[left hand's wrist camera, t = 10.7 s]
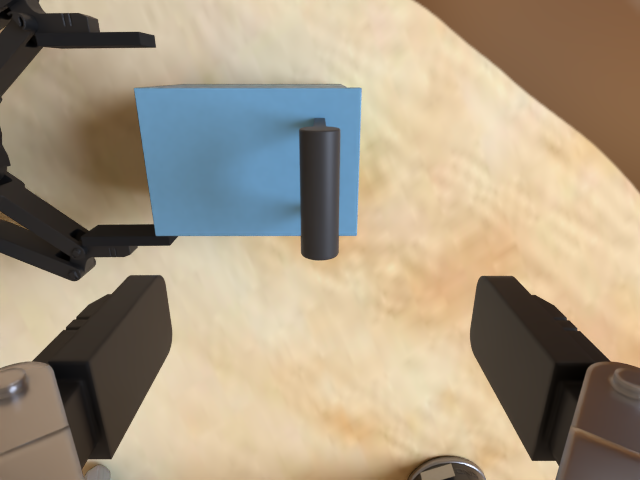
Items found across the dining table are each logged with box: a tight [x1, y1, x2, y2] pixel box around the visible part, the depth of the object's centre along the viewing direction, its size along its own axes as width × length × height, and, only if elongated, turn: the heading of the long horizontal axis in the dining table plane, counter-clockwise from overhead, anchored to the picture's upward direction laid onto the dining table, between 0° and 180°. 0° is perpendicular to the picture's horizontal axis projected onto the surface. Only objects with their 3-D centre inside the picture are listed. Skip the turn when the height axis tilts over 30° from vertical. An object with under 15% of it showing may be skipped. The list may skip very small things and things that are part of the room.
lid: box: [134, 88, 362, 260], centre depth 25 cm, size 14×10×9 cm
